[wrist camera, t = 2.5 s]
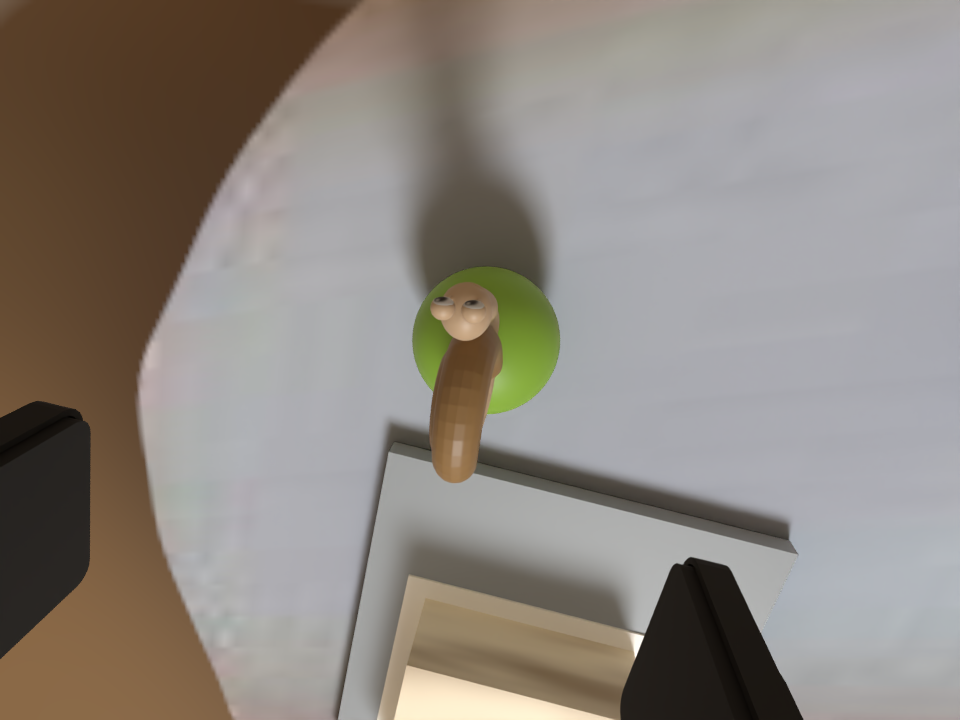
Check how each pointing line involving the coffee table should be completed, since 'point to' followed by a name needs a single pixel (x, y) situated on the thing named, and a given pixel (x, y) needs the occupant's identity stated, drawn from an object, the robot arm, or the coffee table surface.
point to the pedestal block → (507, 671)
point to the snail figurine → (480, 357)
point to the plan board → (527, 564)
